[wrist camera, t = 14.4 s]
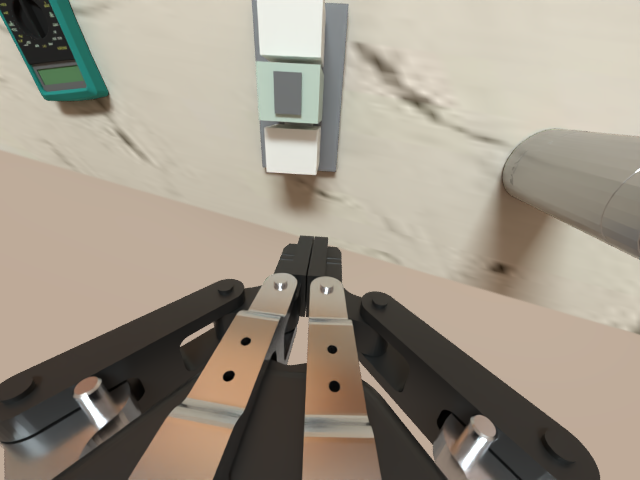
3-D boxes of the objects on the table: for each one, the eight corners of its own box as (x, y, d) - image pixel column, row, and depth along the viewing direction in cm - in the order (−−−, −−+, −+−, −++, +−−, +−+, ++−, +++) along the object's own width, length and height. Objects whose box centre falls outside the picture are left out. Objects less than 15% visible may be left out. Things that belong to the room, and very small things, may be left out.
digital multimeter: (44, -71, 25) (10, -92, 22) (114, 97, 32) (94, 96, 29) (-18, -60, 26) (-58, -78, 23) (63, 103, 33) (40, 102, 30)
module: (324, 75, 28) (320, 64, 20) (321, 120, 30) (317, 123, 22) (275, 72, 28) (254, 60, 20) (277, 117, 30) (258, 120, 23)
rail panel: (347, 8, 26) (352, -28, 19) (335, 169, 34) (335, 185, 27) (255, 4, 26) (227, -33, 20) (264, 165, 34) (247, 179, 28)
